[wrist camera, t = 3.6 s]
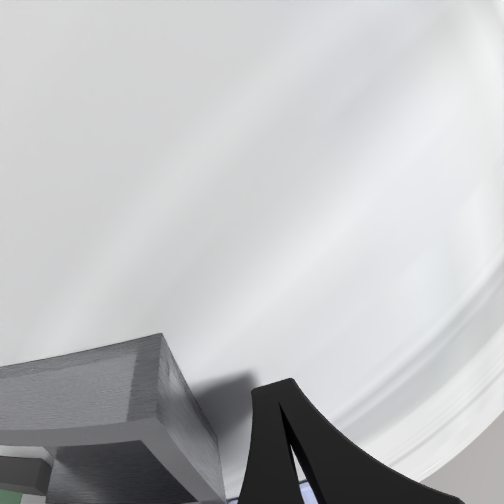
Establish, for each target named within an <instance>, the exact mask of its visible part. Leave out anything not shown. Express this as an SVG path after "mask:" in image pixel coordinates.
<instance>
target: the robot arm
mask: <svg viewBox="0 0 504 504" xmlns="http://www.w3.org/2000/svg"><path fill="white" fill-rule="evenodd" d="M251 394H252V405H253V416H252V432H251V442H250V450H249V455H248V461H247V467H246V472H245V476H244V481H243V485H242V488H241V492H240V496H239V499H238V500H234V501H231V502H229V503H228V504H465V503H464V502H463V501H461V500H460V499H459V498H457V497H455V496H452V495H448V494H446V493H443V492H440V491H437V490H435V489H432V488H430V487H427V486H425V485H422V484H420V483H418V482H416V481H414V480H412V479H410V478H408V477H406V476H404V475H402V474H400V473H398V472H396V471H395V470H393V469H391V468H389V467H387V466H386V465H384V464H383V463H381V462H379V461H378V460H376V459H375V458H373V457H372V456H370V455H369V454H367V453H366V452H365V451H363V450H362V449H360V448H359V447H358V446H357V445H355V444H354V443H353V442H351V441H350V440H349V439H348V438H347V437H346V436H344V435H343V434H342V433H341V432H340V431H339V430H337V429H336V428H335V427H334V426H333V425H332V424H331V423H330V422H329V421H328V420H327V419H326V418H325V417H324V416H323V415H322V414H321V413H320V412H319V411H318V410H317V409H316V408H315V406H314V405H313V404H312V403H311V402H310V401H309V399H308V398H307V397H306V396H305V395H304V393H303V392H302V391H301V389H300V388H299V386H298V385H297V383H296V382H295V380H294V379H292V378H288V379H285V380H281V381H278V382H275V383H271V384H268V385H265V386H261V387H258V388H254V389H253V390H252V391H251ZM290 444H291V445H290ZM291 446H292V449H293V451H294V453H295V455H296V457H297V459H298V462H299V464H300V466H301V468H302V470H303V472H304V474H305V477H306V479H307V481H308V482H305V483H302V484H299V480H298V476H297V472H296V467H295V463H294V458H293V454H292V449H291Z"/></svg>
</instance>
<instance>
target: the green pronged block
mask: <svg viewBox="0 0 504 504" xmlns="http://www.w3.org/2000/svg"><path fill="white" fill-rule="evenodd" d="M51 473H52V468H51V467H50V466H49V465H48V464H47V463H46V462H45V461H44V460H42V459H31V458H14V457H3V456H0V504H20V502H21V498H22V493H25V494H32V495H40V496H47V492H48V487H49V482H50V477H51Z"/></svg>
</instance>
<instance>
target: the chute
mask: <svg viewBox="0 0 504 504" xmlns="http://www.w3.org/2000/svg"><path fill="white" fill-rule="evenodd" d="M0 445H6V446H43V447H44V448H45V449H46V450H47V451H48V452H49V453H50V454H51V455H52V456H53V457H54V458H55V460H54V464H53V469H52V473H51V478H50V482H49V487H48V492H47V497H46V502H45V503H46V504H227V501H226V495H225V489H224V483H223V477H222V470H221V464H220V457H219V451H218V444H217V437H216V435H215V433H214V432H213V430H212V428H211V427H210V425H209V423H208V421H207V420H206V418H205V416H204V414H203V412H202V411H201V409H200V407H199V405H198V403H197V402H196V400H195V398H194V396H193V394H192V392H191V390H190V389H189V387H188V385H187V383H186V381H185V379H184V377H183V375H182V373H181V371H180V369H179V367H178V365H177V363H176V361H175V359H174V357H173V355H172V353H171V351H170V349H169V347H168V345H167V343H166V341H165V338H164V336H163V334H162V333H160V334H156V335H152V336H148V337H144V338H140V339H135V340H131V341H127V342H123V343H118V344H114V345H110V346H105V347H101V348H96V349H92V350H87V351H82V352H78V353H73V354H68V355H63V356H58V357H53V358H48V359H43V360H38V361H33V362H27V363H22V364H16V365H10V366H5V367H0Z"/></svg>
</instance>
